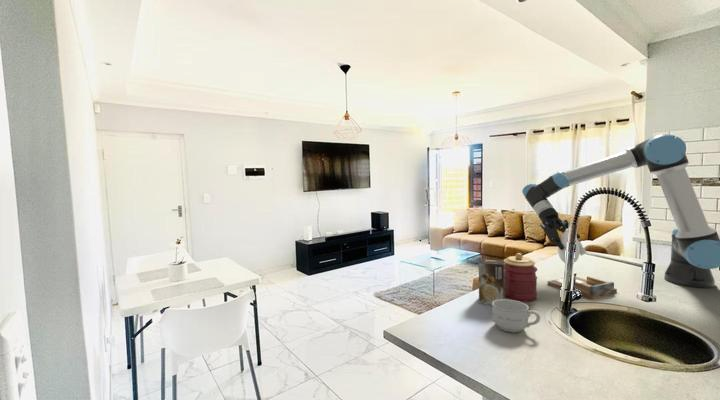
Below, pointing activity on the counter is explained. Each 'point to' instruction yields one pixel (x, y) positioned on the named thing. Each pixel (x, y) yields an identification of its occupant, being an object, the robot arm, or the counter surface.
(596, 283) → the guide board
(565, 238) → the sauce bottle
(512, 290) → the canister
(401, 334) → the counter surface
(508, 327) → the teacup
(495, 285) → the coffee box
